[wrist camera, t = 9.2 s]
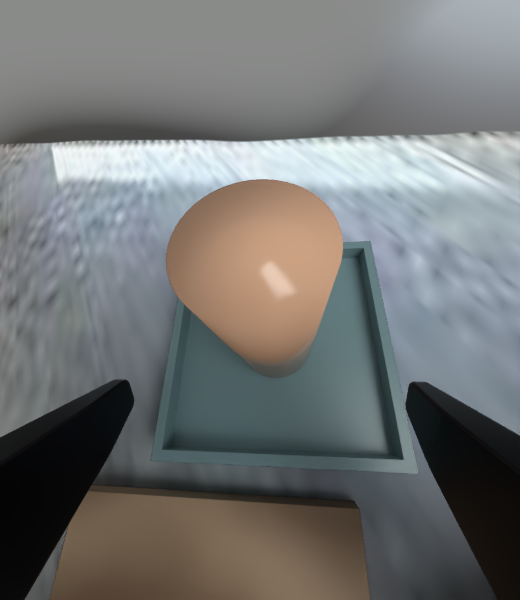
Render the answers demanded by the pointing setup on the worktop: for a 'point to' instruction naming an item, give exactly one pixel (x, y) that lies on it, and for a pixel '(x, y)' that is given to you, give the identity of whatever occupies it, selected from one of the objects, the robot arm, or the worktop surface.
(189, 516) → the tan board
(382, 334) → the tray
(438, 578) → the worktop surface
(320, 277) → the tan glossy round part
